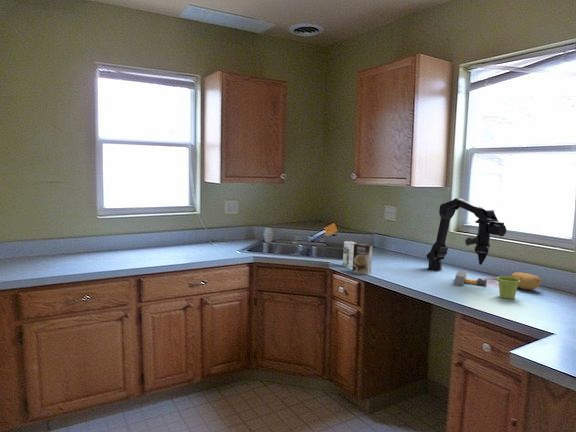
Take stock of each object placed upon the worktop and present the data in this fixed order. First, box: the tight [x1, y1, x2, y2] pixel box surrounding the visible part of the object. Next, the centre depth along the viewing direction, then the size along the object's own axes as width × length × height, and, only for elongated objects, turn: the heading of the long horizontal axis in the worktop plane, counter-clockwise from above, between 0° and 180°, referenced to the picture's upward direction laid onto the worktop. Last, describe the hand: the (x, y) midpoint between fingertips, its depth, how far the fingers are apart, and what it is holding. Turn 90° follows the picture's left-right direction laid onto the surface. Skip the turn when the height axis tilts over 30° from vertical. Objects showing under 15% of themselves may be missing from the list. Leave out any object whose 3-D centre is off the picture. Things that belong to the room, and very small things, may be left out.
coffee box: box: [352, 242, 373, 276], centre depth 227 cm, size 9×6×16 cm
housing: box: [454, 269, 467, 286], centre depth 215 cm, size 4×14×5 cm, turn 152°
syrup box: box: [342, 240, 357, 268], centre depth 243 cm, size 6×6×14 cm
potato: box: [510, 271, 542, 291], centre depth 205 cm, size 10×14×8 cm
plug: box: [464, 278, 487, 287], centre depth 212 cm, size 13×3×3 cm, turn 62°
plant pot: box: [496, 276, 520, 300], centre depth 191 cm, size 9×9×9 cm
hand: (480, 262), depth 212 cm, fingers open, 9 cm apart
